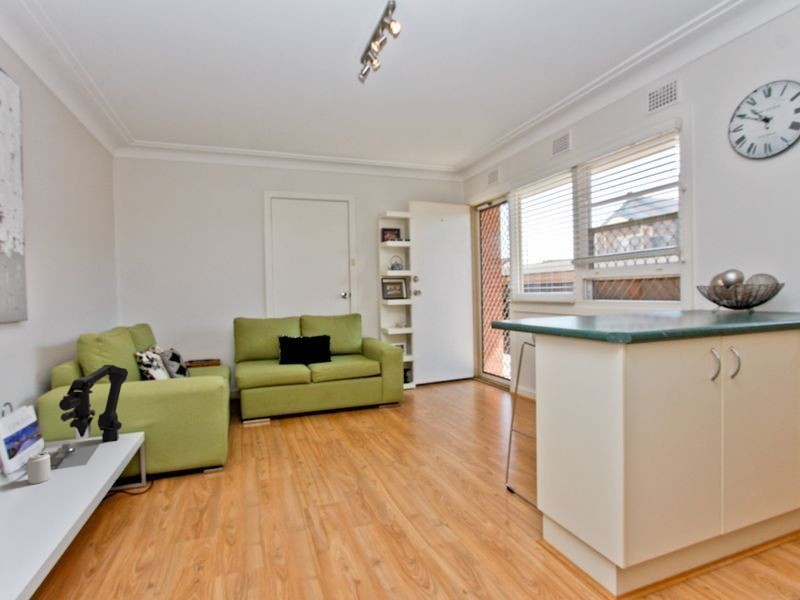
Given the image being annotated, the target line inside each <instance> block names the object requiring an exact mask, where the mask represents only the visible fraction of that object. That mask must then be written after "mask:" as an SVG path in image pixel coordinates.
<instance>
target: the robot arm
mask: <svg viewBox="0 0 800 600" xmlns="http://www.w3.org/2000/svg"><path fill="white" fill-rule="evenodd" d="M106 376H108V381H109V383H110V386H109V390H108V395H107V399H106V404H105V409H104V411H103V412H102V413H100V414H99V415H98V419H97V426H98V429H99V431H102V434H101V438H102V439H101V441H102V444H105V443H112V442H118V440H119V438H120V436H119V430H120V429H122V426H123V425H122V423H121V422H120V421H119V415H118V414H117V407H118V403H119V399H120V393H121V389H122V385H123V384H124V383H125V382H126V381H127V377H128V376H129V371H128V370H127V369H126V368H122V367H119V366H116V365H114V364H105V365H102V367H100V368H98V369H96V370H95V371H94V372H92V373H90V374H88V375H86V376H83V377H79V378H76V379H74V380H73V381H72V383H71V385H70V387H69V389H68V391H67V393H66V395H63V397H62V399H60V401H59V403H58V406H59V408H60V410H61V411H64V412H63V413H62V414H61V415H60V420H61V421H62V422H63V423H64V422H67V421H70V420H71V419H72V421H70V423H69V428H76V429H77V430H78V432H79V434H80V437H83V436H84V434H85V431H86V429H87V426H88V425H92V422H93V419H94V417H95V416H96V411H95V409H91V407H92V404H91V403H90V402H91V401H90V394H93V390H91V389H92V388H93V387H94V386H95V383H96V382H98V381H100V380H101V379H103V378H105V377H106ZM66 411H67V412H66Z"/></svg>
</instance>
